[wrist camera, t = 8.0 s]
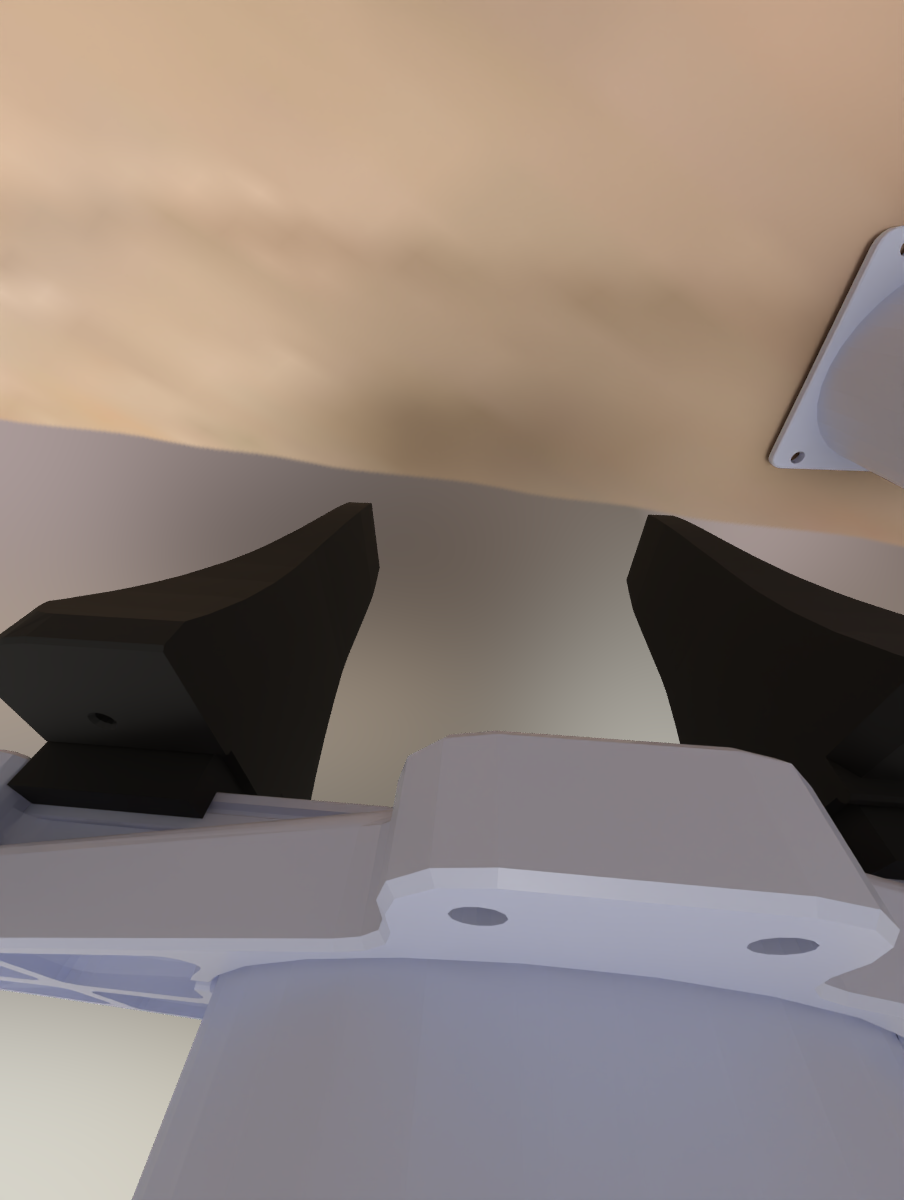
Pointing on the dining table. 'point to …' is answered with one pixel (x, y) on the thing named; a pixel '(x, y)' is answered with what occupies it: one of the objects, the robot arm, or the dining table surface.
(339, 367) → the dining table surface
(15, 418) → the dining table surface
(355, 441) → the dining table surface
